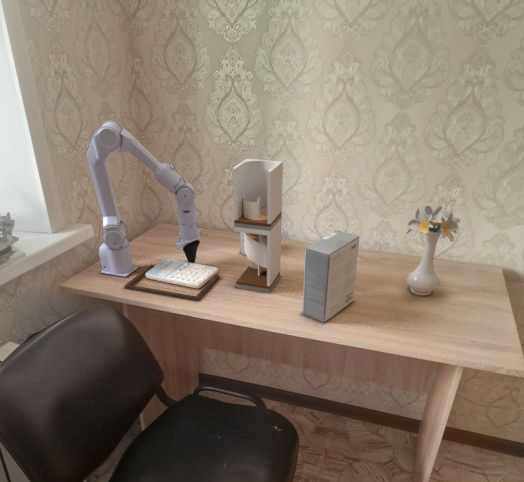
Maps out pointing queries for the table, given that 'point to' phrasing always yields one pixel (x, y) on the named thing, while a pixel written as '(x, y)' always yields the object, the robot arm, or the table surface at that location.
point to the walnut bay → (172, 294)
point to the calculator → (182, 273)
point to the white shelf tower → (259, 220)
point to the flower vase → (430, 246)
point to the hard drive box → (329, 275)
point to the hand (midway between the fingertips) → (191, 262)
